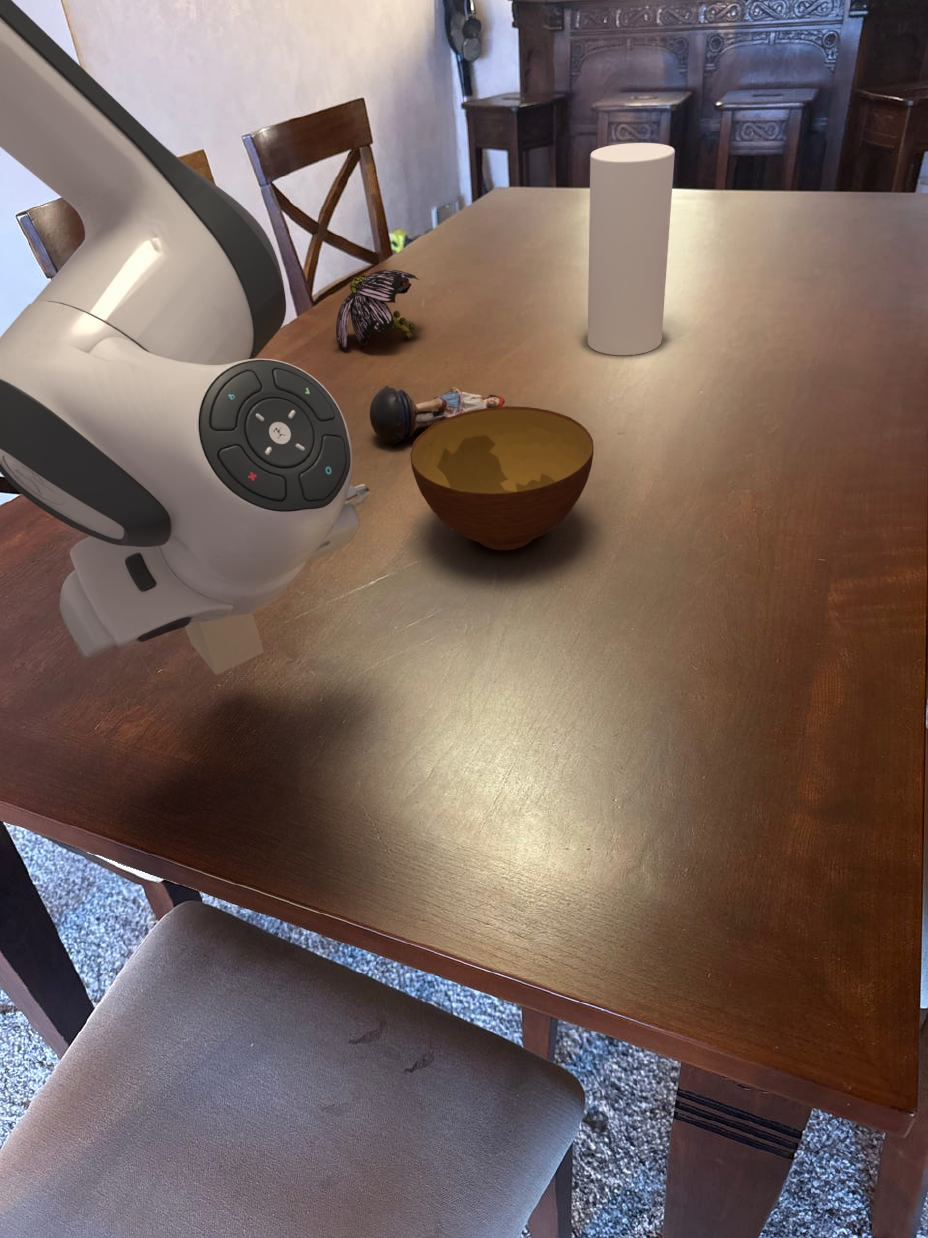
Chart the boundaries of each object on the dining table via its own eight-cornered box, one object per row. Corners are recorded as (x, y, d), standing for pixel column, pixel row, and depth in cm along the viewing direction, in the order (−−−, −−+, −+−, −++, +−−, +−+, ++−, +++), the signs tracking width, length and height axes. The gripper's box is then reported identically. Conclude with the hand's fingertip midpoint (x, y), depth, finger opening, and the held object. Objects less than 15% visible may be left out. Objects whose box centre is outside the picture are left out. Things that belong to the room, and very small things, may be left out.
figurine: (363, 374, 105) (501, 362, 110) (361, 419, 110) (494, 405, 115) (378, 412, 100) (522, 398, 105) (376, 457, 105) (513, 441, 110)
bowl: (586, 588, 81) (587, 496, 75) (404, 580, 84) (391, 491, 78) (596, 491, 94) (598, 406, 88) (438, 487, 98) (430, 405, 91)
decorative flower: (350, 258, 136) (419, 238, 126) (388, 321, 143) (456, 307, 133) (299, 313, 129) (369, 297, 120) (342, 376, 136) (410, 366, 127)
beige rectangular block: (216, 675, 65) (184, 579, 59) (190, 643, 68) (157, 549, 63) (264, 652, 67) (237, 557, 61) (236, 622, 70) (208, 528, 64)
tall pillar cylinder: (573, 345, 127) (573, 156, 111) (614, 322, 133) (621, 139, 117) (634, 361, 121) (644, 163, 105) (675, 336, 127) (690, 145, 111)
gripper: (353, 437, 57) (308, 507, 69) (40, 557, 48) (53, 613, 61) (398, 522, 57) (345, 576, 69) (92, 657, 48) (95, 692, 60)
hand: (207, 594), depth 65 cm, fingers closed on beige rectangular block, 4 cm apart
